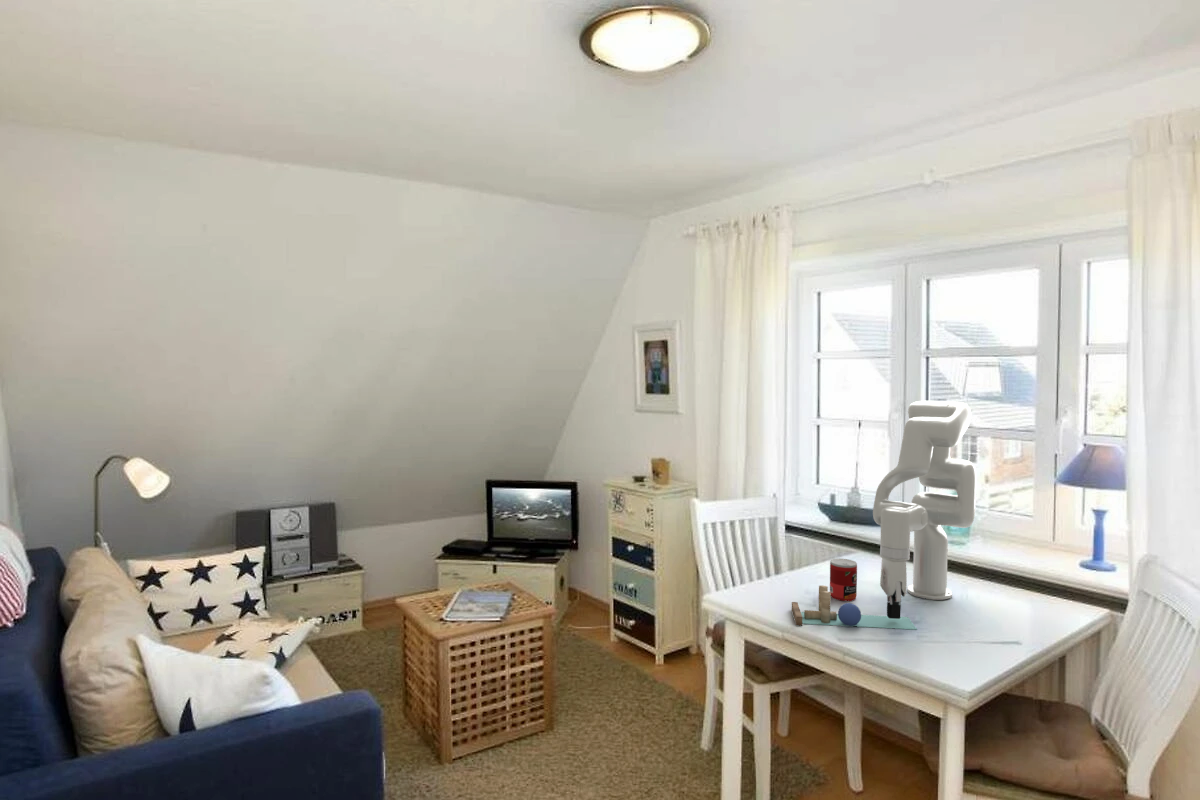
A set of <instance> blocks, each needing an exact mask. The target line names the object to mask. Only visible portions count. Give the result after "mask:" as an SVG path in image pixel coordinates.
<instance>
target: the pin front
mask: <svg viewBox="0 0 1200 800" xmlns="http://www.w3.org/2000/svg"><path fill="white" fill-rule="evenodd" d="M803 612H804V617H805V619H821V611H819V610H812V609H811V610H810V609H809V610H806V609H805V610H804V611H803ZM837 614H838V612H837V611H832V610H830V620H837Z"/></svg>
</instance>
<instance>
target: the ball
mask: <svg viewBox="0 0 1200 800" xmlns="http://www.w3.org/2000/svg"><path fill="white" fill-rule="evenodd" d="M837 614H838V616H839V619H840V621H841V622H842V623H844V624H845V625H848V626H847V627H853V626H854V625H856V624H857V623H859V621H860V619H861V615H862V613H861V610H860V608H859V607H858V606H857V605H856V604H854V603H851V602H845V603H843V604H841V605H840V607H839V609H838V612H837Z"/></svg>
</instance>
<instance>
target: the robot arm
mask: <svg viewBox="0 0 1200 800" xmlns="http://www.w3.org/2000/svg"><path fill="white" fill-rule="evenodd" d="M907 412H908V413H907V415H908V417H909V419H908V420H907V421H906V422H905V425H904V429H903V430H904V431H903V435H902V441H901V446H900V452H899V456H898V457H899V458H898V463H897V466H896V467H894V468H893V469H892V470H891V471H889V472H888V473H887V474H886V475H885V476H884V477H883V479H882V480H881V481H880V483H879V484H878V487H877V489H876V491H875V492H876V493H875V496H874V503H873V506H872V507H873V508H872V516H873V517H872V518H873V520H874V522H875V523H876V524H877V525H879V526H880V538H879V539H880V543H879V545H880V548H879V557H880V558H881V562H880V563H881V565H880V578H879V579H880V581H879V582H880V583H879V585H880V587H881V589H882V591H883V593H884V594H885V595H887V596H886V601H887V602H886V616H888V618H892V619H900V617H901V610H902V609H901V605H902V604H901V603H902V597H903V598H904V597H906V595H907V593H909V594H910V595H912V596H915V597H918V598H922V599H925V598H926V599H925V600H933V601H935V600H936V601H942V600H943V601H945V600H949V599H950V598H952V597H953V592H952V591H951V589H949V588H948V587H947V586H948V585H947V583H948V582H947V581H948V546H949V545H948V544H949V540H948V536H947V533H946V532H945V530H944V529H943V528H942V526H947V527H953V528H959V529H960V528H961V529H966V528H970V527H971V526H972V525H973V523H974V519H975V513H976V512H975V511H976V497H977V496H976V495H977V494H976V492H977V471H976V467H975V465H974V463H973V462H971V461H969V460H968V459H967V460H966V459H961V458H960V459H959V458H951V448H954V447H955V446H957V445H958V443H959V442H960V441H961V439H962V437H963V436H964V434H965V433H966V431H967V429H968V428H969V426H970V423H971V421H972V412H971V408H970V406H969V405H968V404H967V403H965V402H962V401H961V402H960V401H941V400H940V401H939V400H918V401H914V402H912V403H910V405H909V406H908V411H907ZM916 478H918V481H919V483H920V484H921V485H922V486H923V487H926V488H931V489H937V490H938V489H939V490H940V489H941V490H947V491H954V492H956V494H948V493H941V492H933V491H931V492H930V491H921V492H919V493H916V494H915V495H914V496H913V497H912V499H911V502H910V503H909V502H903V501H897V500H890V499H889V498H890V495H891V493H892V492H893V491H894V489H895V488H896V487H897V486H899V485H901V484H902V483H904V482H907V481H911V480H913V479H916ZM911 532H913V563H912V564H913V569H912V576H913V579H912V584H909V585H908V586H907V577H908V576H907V568H908V567H907V561H910V558H911V557H910V556H911V554H910V553H911V552H910V551H911Z"/></svg>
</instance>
